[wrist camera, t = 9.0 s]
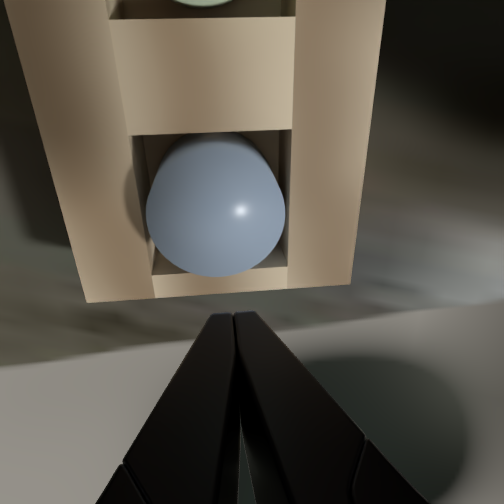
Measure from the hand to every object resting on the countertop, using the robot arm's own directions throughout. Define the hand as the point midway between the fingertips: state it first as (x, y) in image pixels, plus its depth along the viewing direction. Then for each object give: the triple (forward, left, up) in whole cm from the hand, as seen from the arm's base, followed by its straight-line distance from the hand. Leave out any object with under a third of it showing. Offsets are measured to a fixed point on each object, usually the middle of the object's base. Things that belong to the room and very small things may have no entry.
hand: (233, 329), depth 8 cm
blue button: (0, 0, -9) cm, 9 cm away
